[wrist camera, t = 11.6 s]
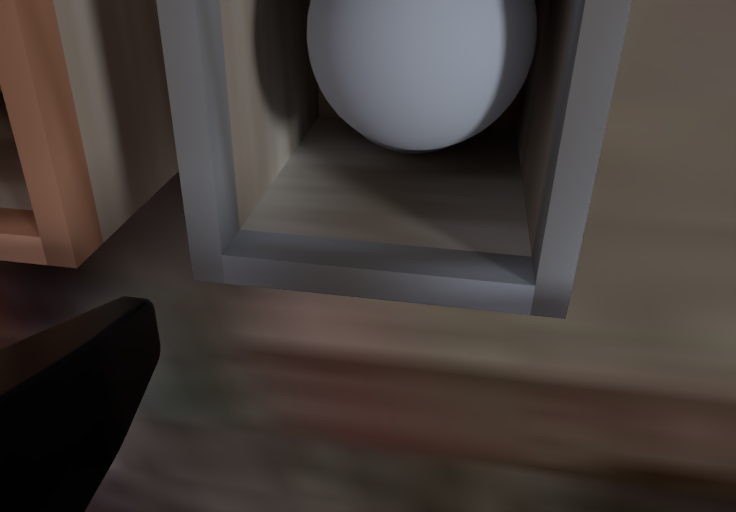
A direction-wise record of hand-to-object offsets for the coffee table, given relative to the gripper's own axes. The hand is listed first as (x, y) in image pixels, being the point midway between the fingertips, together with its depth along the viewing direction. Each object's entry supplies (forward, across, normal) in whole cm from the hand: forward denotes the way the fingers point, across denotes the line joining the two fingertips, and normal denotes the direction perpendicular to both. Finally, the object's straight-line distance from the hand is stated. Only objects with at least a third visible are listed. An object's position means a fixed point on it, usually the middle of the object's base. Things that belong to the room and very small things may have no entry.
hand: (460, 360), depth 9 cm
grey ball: (+6, +1, -2) cm, 6 cm away
